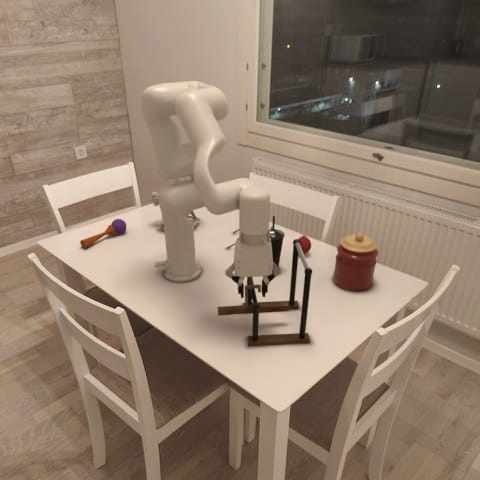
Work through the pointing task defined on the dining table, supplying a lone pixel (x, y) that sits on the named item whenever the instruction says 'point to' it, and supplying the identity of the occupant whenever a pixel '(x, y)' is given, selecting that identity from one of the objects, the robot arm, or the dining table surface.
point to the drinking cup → (276, 243)
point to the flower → (194, 220)
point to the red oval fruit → (305, 244)
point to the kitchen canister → (355, 262)
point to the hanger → (248, 308)
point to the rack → (292, 304)
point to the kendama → (106, 232)
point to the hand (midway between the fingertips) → (252, 294)
